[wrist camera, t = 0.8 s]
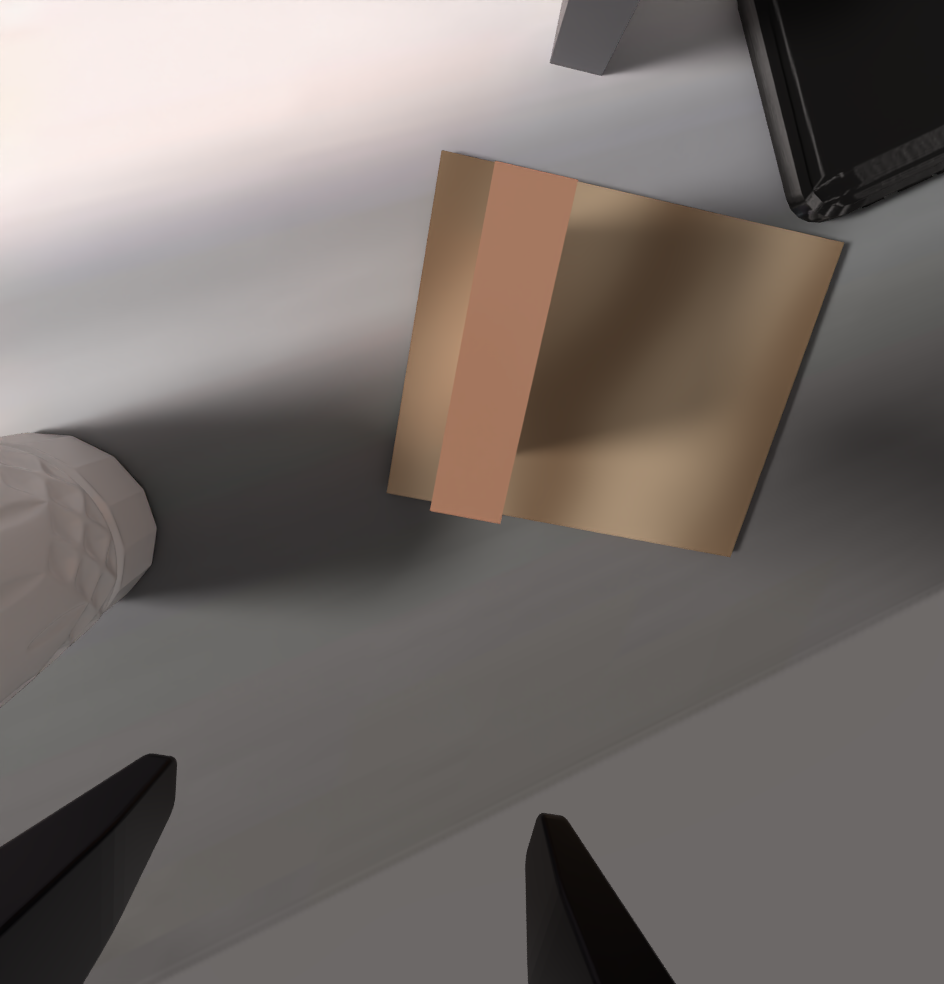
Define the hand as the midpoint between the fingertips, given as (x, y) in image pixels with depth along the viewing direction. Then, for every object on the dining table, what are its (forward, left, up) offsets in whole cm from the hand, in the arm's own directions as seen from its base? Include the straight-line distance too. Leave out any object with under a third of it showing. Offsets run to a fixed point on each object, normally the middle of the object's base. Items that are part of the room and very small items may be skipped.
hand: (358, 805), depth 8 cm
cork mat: (-5, -7, -12) cm, 15 cm away
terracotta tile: (-1, -7, -12) cm, 14 cm away
